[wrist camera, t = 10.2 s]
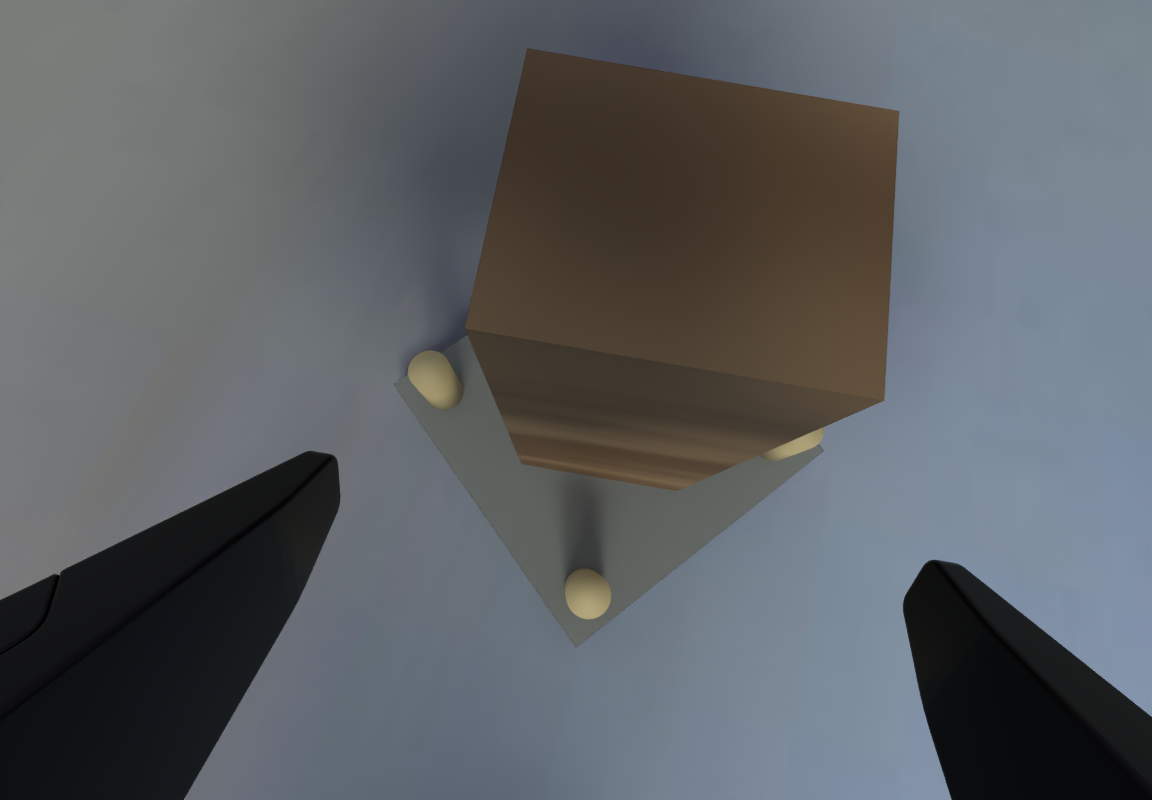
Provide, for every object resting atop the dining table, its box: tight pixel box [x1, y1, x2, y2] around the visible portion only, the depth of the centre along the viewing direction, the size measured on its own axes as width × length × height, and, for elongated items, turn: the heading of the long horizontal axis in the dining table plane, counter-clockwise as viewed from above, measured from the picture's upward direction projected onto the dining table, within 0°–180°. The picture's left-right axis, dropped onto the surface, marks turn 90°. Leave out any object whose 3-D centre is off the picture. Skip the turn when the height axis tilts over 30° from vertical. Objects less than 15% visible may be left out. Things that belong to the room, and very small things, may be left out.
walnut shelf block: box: [465, 49, 899, 491], centre depth 14 cm, size 4×5×12 cm
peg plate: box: [393, 335, 824, 647], centre depth 19 cm, size 10×10×4 cm
